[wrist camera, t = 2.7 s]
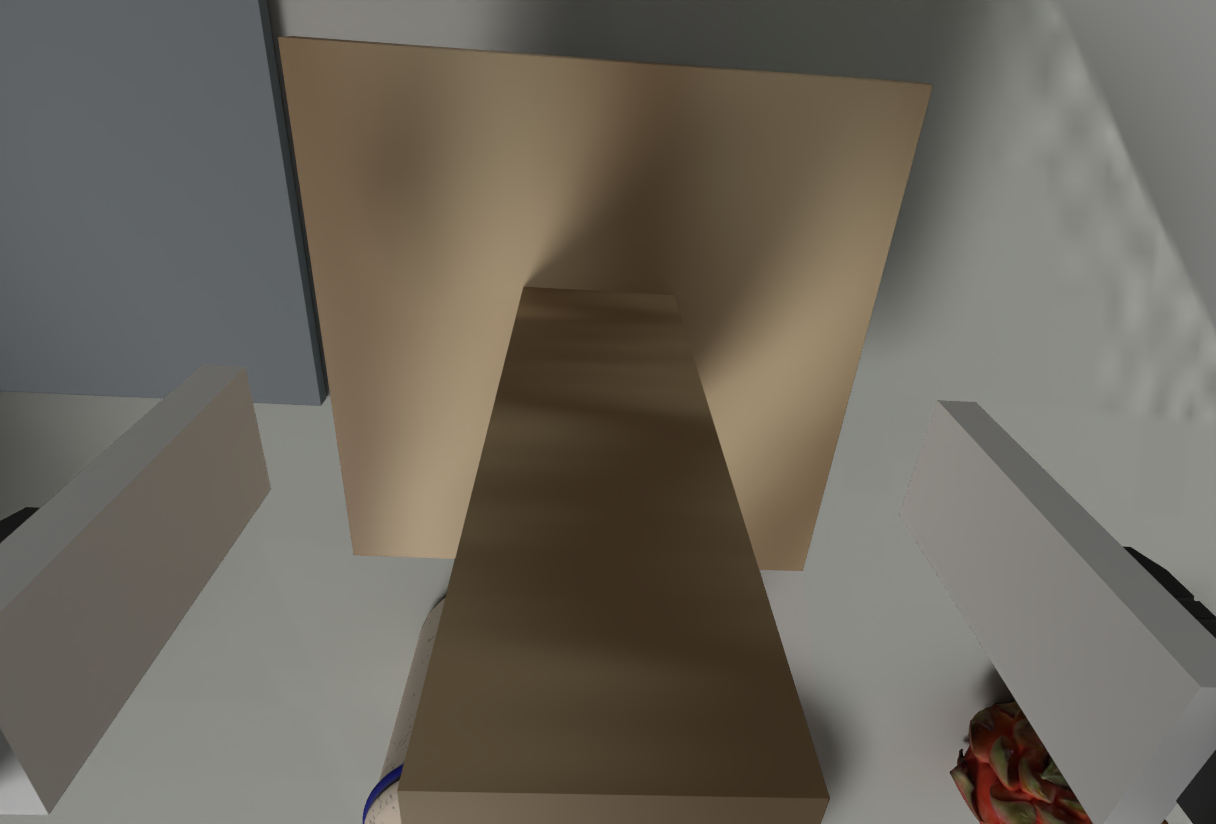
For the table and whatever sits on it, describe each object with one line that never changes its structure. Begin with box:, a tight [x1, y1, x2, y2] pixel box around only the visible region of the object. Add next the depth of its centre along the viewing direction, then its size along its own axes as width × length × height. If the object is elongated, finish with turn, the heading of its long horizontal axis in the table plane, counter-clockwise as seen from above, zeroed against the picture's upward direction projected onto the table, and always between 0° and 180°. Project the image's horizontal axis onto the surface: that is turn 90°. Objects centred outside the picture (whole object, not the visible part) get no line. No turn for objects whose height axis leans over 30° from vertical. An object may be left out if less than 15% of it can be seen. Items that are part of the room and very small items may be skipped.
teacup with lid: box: [363, 598, 445, 824], centre depth 26 cm, size 12×9×12 cm
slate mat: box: [0, 0, 326, 406], centre depth 22 cm, size 13×13×1 cm
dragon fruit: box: [950, 701, 1168, 824], centre depth 33 cm, size 8×8×12 cm
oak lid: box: [278, 36, 933, 824], centre depth 12 cm, size 13×13×13 cm
